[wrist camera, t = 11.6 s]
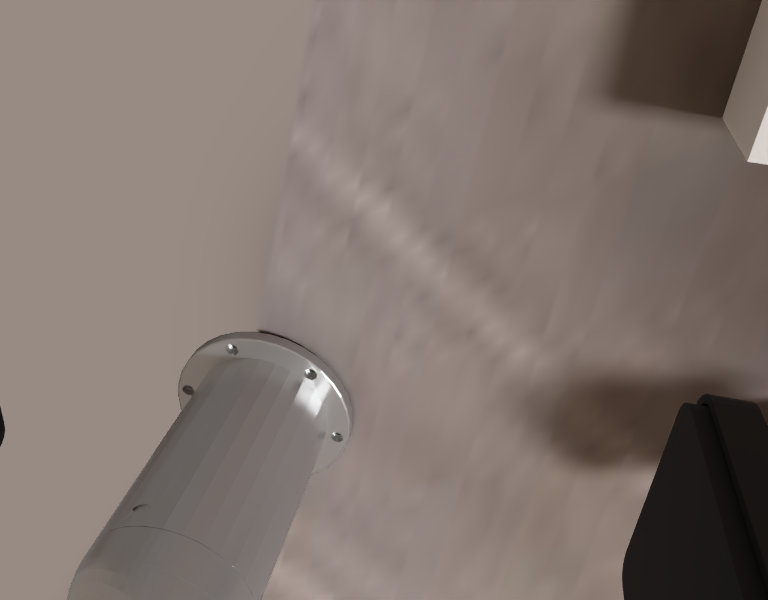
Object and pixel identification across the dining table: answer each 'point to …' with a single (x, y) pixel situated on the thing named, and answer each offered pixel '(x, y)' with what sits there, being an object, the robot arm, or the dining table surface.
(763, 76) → the lettered cube
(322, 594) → the dining table surface
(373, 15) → the dining table surface
